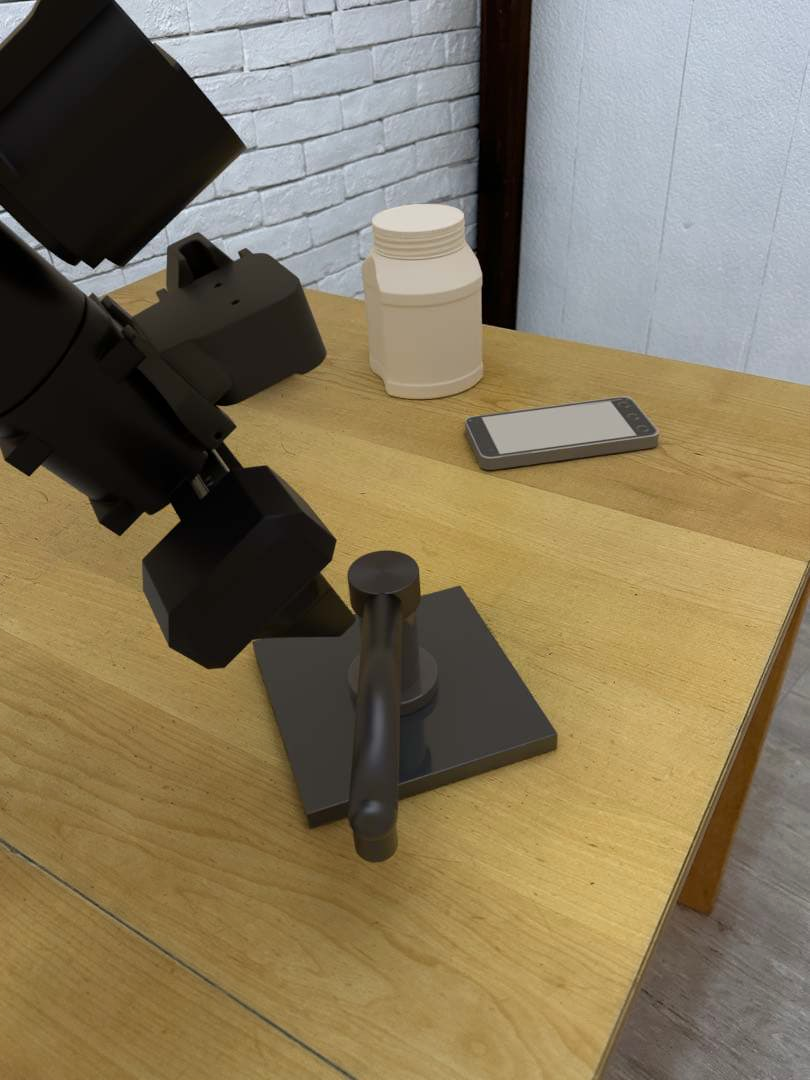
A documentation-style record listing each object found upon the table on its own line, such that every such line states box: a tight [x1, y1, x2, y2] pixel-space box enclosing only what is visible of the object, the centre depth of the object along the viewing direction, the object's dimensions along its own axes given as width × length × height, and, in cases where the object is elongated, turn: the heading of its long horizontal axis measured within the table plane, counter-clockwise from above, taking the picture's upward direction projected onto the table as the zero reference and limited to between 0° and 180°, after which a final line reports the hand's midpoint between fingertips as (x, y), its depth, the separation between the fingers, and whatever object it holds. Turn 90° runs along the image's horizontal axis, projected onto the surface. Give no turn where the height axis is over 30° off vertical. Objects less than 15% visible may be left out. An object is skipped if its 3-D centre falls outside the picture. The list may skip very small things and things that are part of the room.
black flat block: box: [251, 585, 559, 829], centre depth 51 cm, size 14×14×7 cm
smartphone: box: [464, 395, 660, 471], centre depth 76 cm, size 7×1×15 cm
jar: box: [360, 203, 484, 400], centre depth 84 cm, size 12×10×15 cm
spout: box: [346, 549, 422, 864], centre depth 43 cm, size 18×4×3 cm, turn 179°
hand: (305, 568), depth 42 cm, fingers open, 9 cm apart
